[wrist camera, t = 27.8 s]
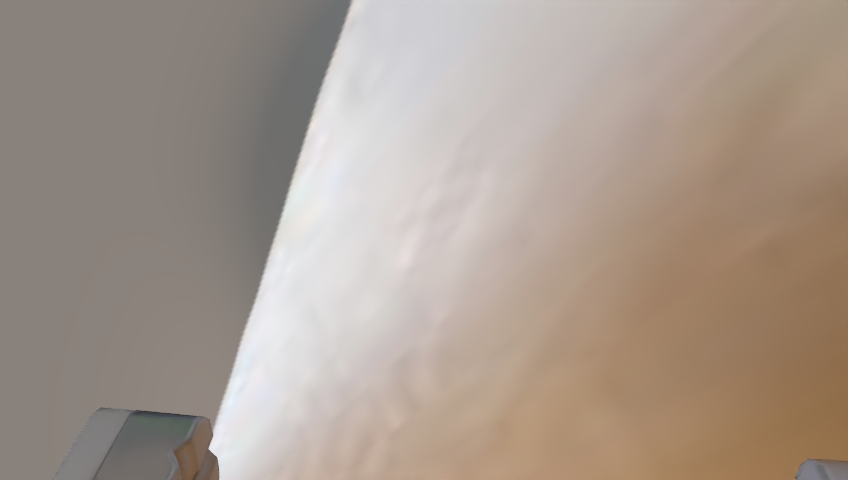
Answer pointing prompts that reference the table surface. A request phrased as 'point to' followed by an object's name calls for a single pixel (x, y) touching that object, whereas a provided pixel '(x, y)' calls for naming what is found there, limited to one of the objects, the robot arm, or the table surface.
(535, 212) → the table surface
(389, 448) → the table surface
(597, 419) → the table surface
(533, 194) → the table surface
